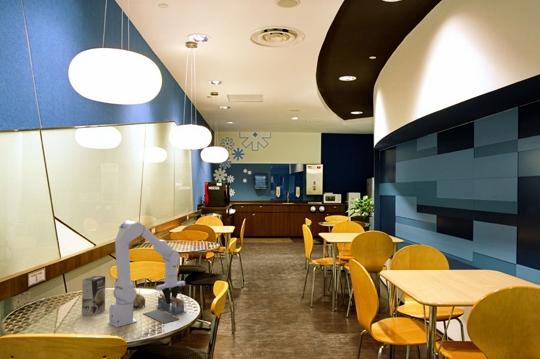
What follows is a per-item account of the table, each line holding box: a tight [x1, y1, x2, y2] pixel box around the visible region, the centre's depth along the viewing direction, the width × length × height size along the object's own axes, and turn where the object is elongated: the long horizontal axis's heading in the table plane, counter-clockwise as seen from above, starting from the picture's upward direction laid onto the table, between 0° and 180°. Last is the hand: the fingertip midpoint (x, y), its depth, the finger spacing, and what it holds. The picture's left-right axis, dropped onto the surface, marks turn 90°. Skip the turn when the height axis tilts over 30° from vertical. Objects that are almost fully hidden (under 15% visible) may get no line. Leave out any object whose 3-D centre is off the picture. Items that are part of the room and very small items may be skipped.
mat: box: [142, 309, 181, 325], centre depth 183 cm, size 8×18×1 cm, turn 46°
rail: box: [159, 293, 183, 306], centre depth 193 cm, size 2×16×2 cm, turn 46°
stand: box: [155, 295, 187, 317], centre depth 193 cm, size 6×17×6 cm, turn 46°
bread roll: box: [133, 293, 146, 310], centre depth 199 cm, size 10×10×8 cm
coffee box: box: [81, 275, 106, 316], centre depth 189 cm, size 9×6×16 cm
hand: (170, 302), depth 193 cm, fingers closed on rail, 2 cm apart
